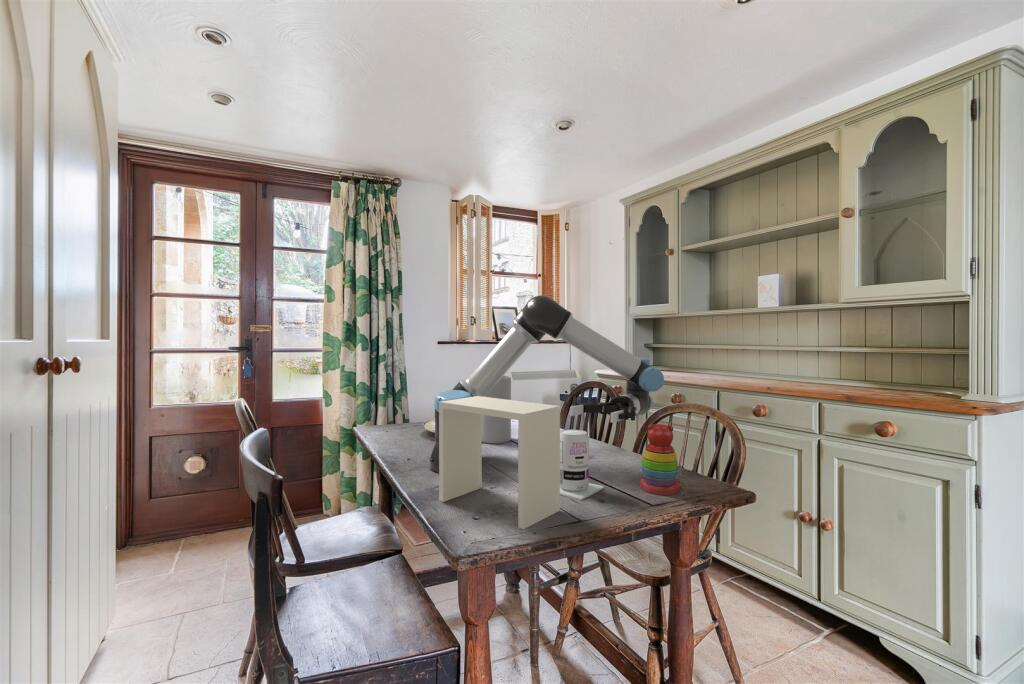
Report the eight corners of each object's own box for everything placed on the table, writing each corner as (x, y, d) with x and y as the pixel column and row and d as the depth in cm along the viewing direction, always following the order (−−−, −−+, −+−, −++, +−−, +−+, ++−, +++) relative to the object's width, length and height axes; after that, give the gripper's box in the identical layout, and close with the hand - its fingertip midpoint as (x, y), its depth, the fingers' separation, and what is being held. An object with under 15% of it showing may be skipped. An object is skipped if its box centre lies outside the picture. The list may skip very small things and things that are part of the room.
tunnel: (523, 529, 101) (523, 413, 101) (439, 500, 118) (439, 401, 118) (559, 510, 112) (560, 406, 112) (477, 486, 129) (477, 396, 129)
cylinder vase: (481, 436, 191) (481, 375, 191) (512, 437, 190) (512, 375, 189) (476, 443, 179) (476, 378, 178) (509, 444, 177) (509, 378, 177)
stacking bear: (680, 485, 130) (681, 421, 130) (681, 497, 121) (681, 428, 121) (640, 481, 134) (640, 419, 134) (637, 493, 124) (638, 426, 124)
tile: (581, 500, 119) (581, 498, 119) (542, 490, 126) (542, 488, 126) (604, 488, 128) (604, 486, 128) (566, 479, 136) (566, 477, 136)
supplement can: (570, 480, 133) (571, 427, 133) (594, 487, 127) (595, 432, 127) (551, 487, 127) (552, 432, 127) (576, 494, 122) (576, 436, 121)
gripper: (660, 423, 145) (630, 434, 129) (590, 413, 161) (554, 421, 145) (661, 399, 145) (630, 407, 129) (590, 391, 161) (555, 397, 145)
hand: (590, 414), depth 137 cm, fingers open, 13 cm apart
